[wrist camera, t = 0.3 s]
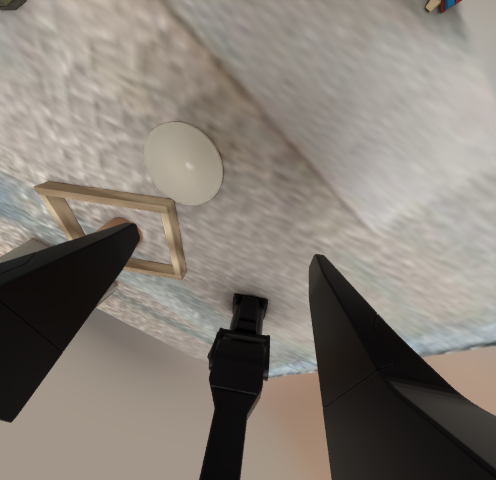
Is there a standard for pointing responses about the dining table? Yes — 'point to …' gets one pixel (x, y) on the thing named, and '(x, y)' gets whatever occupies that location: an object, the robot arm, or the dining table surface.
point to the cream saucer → (183, 163)
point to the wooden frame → (67, 222)
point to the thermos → (11, 4)
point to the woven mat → (446, 3)
